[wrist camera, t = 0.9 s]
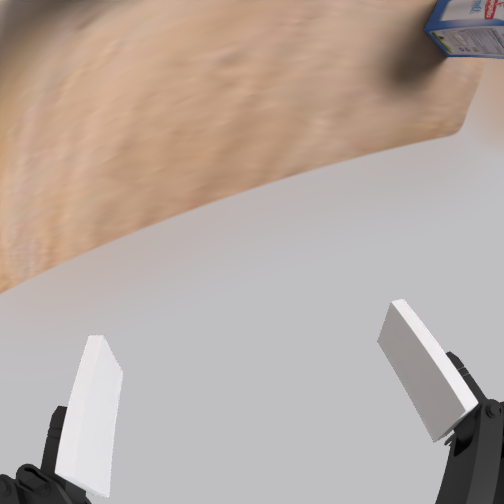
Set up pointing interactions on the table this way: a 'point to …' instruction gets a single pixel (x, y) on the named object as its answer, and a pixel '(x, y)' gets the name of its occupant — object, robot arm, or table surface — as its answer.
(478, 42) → the milk carton
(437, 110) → the table surface
